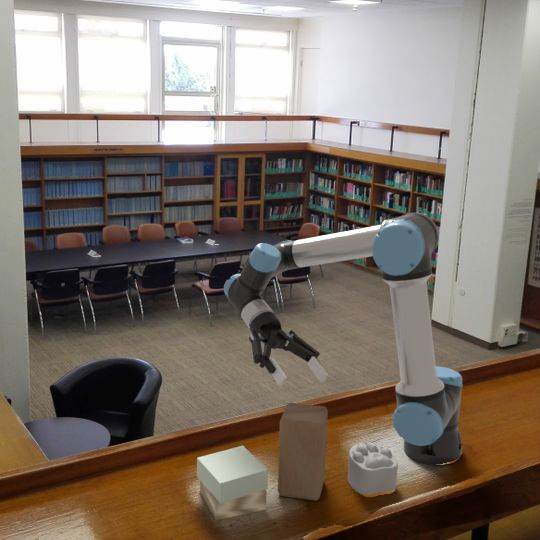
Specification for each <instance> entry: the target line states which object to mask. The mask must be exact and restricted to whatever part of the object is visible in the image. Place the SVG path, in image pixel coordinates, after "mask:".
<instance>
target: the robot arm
mask: <svg viewBox="0 0 540 540" xmlns="http://www.w3.org/2000/svg"><path fill="white" fill-rule="evenodd" d="M439 238H440V236H439V230H438V227H437V225H436V223H435V222H434V220H432V218H430V217H429V216H428V215H426V214H423V213H419V212H409V213H406V214H403V215H401V216H397V217H393V218H388V219H385V220H384V221H382V223H381V224H378V225H372V226H367V227H361V228H357V229H352V230H347V231H340V232H335V233H330V234H329V233H328V234H324V235H317V236H313V237H307V238H301V239H297V240H284V241H280V242H277V243H276V244H275V245H271V244H269V243H267V242H266V243H263V242H260V243H258V244H256V245H255V247H254V249H253V250H252V251H251V252H250V254H249V257H248V259H247V260H246V263H245V265H244V266H243V268H242V271H241V272H240V273H236V274H232V276H230V278H229V279H227V280H226V281H225V283H224V285H223V292H224V294H225V296H226V298H227V299H228V301H229V303H230V304H231V305H232V307H233V308H234V310H235V311H237V313H238V314H239V316H240V318H241V320H243V321H244V323H245V325H246V327H248V329H249V331H250V332H251V333H250V335H249V337H248V340H249V342H250V345H251V350H252V358H253V363H254V364H256V365H258V364H259V367H260V368H262V369H264V368H265V369H266V370H267V372H268V373H269V374H271V376H272V377H273V379H274V380H275V382H276V384H278V386H283V385H284V383H285V381H286V380H287V378H288V377H287V375H286V374H285V373H284V371H283V370H282V368H281V366H280V365H279V363H277V361H276V360H275V358H274V357H271V355H272V350H276V349H280V350H283V351H285V352H290V353H292V354H293V355H294V356H295V355H296V356H297V357H298V358H300V359H302V360H303V361H306V362H307V364H306V365H307V366H308V368H309V369H310V370H311V371H312V373H313V374H314V376H315V377H316V378H317V380H318V381H319V382H320V383H321V384H322V383H324V382H325V380H326V379H327V377H328V376H329V374H328V372H327V371H326V370H325V369H324V367H323V365H322V364H321V362H320V361H319V360H318V359H319V356H320V355H321V353H320V352H319V351H318V350H317V349H315V348H314V347H312V346H311V345H310V344H309V343H307V342H306V341H305V340H304V339H302V338H301V337H300V336H299V335H297V333H296V332H295V331H293V329H291V330H290V331H289V332H286V331H284V330H283V329H282V323H281V321H280V319H279V318H278V317H277V315H276V314H275V312H273V309H272V308H271V307H270V306H269V304H268V303H267V302H266V301H265V300H264V298H263V296H262V294H263V293H264V291H265V290H266V287H267V285H268V284H269V282H270V281H271V279H272V278H273V277H277V275H280V274H282V273H284V272H285V271H288V270H295V269H301V268H305V267H306V268H307V267H312V266H319V265H324V264H325V265H326V264H331V263H339V262H343V261H344V262H345V261H349V260H350V261H351V260H357V259H364V258H370V257H372V258H373V260H374V263H375V264H376V266H377V267H379V269H380V272H381V279H382V281H383V282H384V283H386V284H387V285H388V286H389V294H390V298H391V299H390V301H391V309H392V318H393V326H394V333H395V343H396V351H397V352H396V353H397V359H398V360H397V361H398V367H399V368H398V369H399V377H400V381H399V382H398V383H397V384H396V385H395V397H396V408H395V409H394V411H393V417H392V424H393V427H394V430H395V432H396V433H397V435H398V436H399V437H401V438H402V439H403V451H404V453H405V454H406V455H407V456H408V457H409V458H411V459H413V460H414V461H416V462H418V463H421V464H424V465H429V466H437V465H436V464H443V463H447V462H451V461H454V460H456V459H458V458H460V457H461V455H462V456H463V443H462V440H461V435H460V431H459V427H458V426H459V418H460V411H461V410H460V407H461V399H462V398H461V397H462V392H463V391H462V389H463V387H464V385H463V376H462V375H461V373H460V372H458V371H456V370H454V369H451V368H448V367H444V366H438V365H436V356H435V348H434V339H433V330H432V328H433V327H432V321H431V320H432V319H431V309H430V302H429V301H430V300H429V292H428V291H429V290H428V284H427V283H428V282H427V281H429V279H430V278H431V277H432V275H433V268H432V258H431V255H432V254H433V252H434V251H435V250H436V249H437V247H438V243H439ZM262 343H263V347H262ZM287 343H288V344H287ZM286 344H287V345H286ZM262 348H263V349H262ZM461 458H462V457H461ZM430 464H431V465H430Z"/></svg>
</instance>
